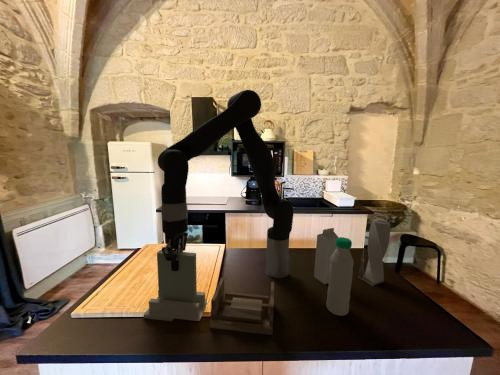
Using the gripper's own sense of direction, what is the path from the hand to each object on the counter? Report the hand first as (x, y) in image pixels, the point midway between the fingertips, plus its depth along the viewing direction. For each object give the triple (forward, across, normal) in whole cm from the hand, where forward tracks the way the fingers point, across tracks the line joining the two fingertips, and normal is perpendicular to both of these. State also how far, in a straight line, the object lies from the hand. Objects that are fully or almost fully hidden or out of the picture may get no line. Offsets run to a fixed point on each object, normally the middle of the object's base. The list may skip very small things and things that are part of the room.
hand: (176, 268), depth 70 cm
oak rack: (+15, 0, +22) cm, 26 cm away
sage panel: (+13, 0, 0) cm, 13 cm away
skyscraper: (+15, -28, +72) cm, 79 cm away
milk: (+15, -26, +52) cm, 60 cm away
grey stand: (+15, 0, 0) cm, 15 cm away
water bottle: (+15, -8, +52) cm, 55 cm away
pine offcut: (+11, +3, +23) cm, 26 cm away
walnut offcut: (+14, +3, +22) cm, 26 cm away
